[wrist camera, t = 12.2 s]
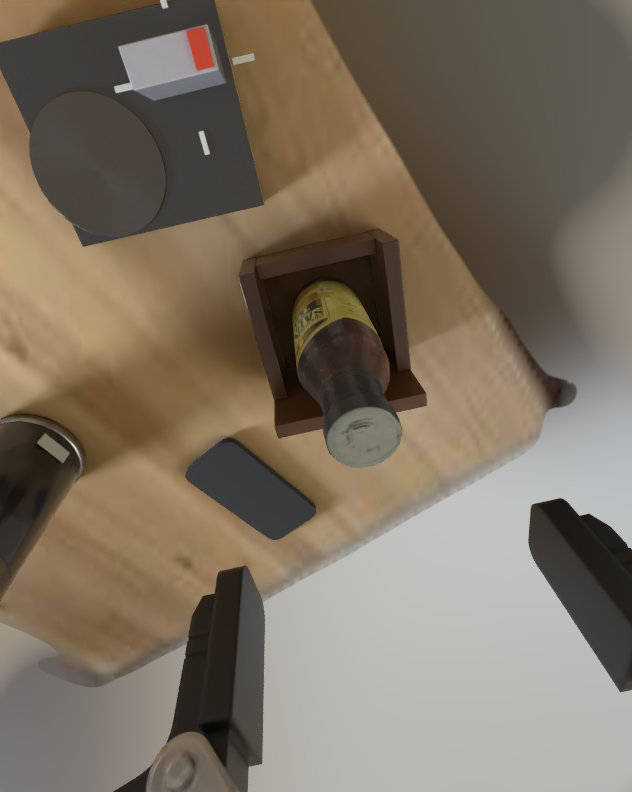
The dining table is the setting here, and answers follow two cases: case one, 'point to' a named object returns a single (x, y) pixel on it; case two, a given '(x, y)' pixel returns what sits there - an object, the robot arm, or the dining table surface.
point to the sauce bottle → (345, 373)
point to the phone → (250, 489)
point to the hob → (149, 105)
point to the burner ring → (97, 164)
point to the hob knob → (173, 63)
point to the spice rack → (403, 389)
